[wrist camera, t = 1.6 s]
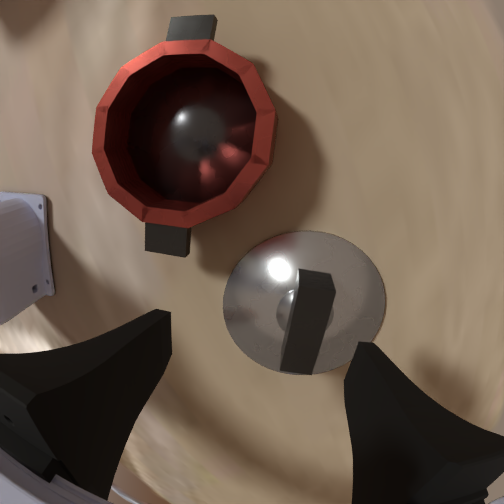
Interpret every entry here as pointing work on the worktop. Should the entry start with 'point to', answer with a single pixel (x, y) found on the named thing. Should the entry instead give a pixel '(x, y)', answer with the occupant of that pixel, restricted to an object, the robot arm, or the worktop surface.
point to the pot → (183, 133)
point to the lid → (303, 302)
